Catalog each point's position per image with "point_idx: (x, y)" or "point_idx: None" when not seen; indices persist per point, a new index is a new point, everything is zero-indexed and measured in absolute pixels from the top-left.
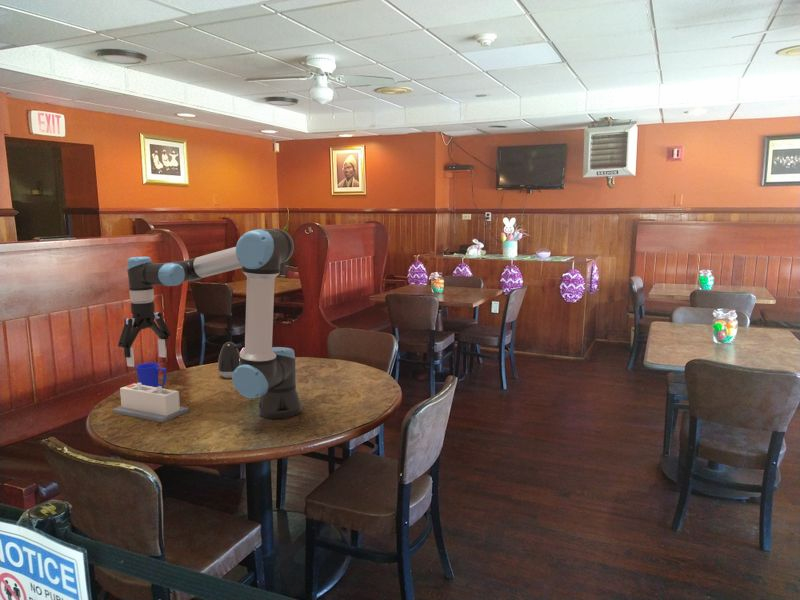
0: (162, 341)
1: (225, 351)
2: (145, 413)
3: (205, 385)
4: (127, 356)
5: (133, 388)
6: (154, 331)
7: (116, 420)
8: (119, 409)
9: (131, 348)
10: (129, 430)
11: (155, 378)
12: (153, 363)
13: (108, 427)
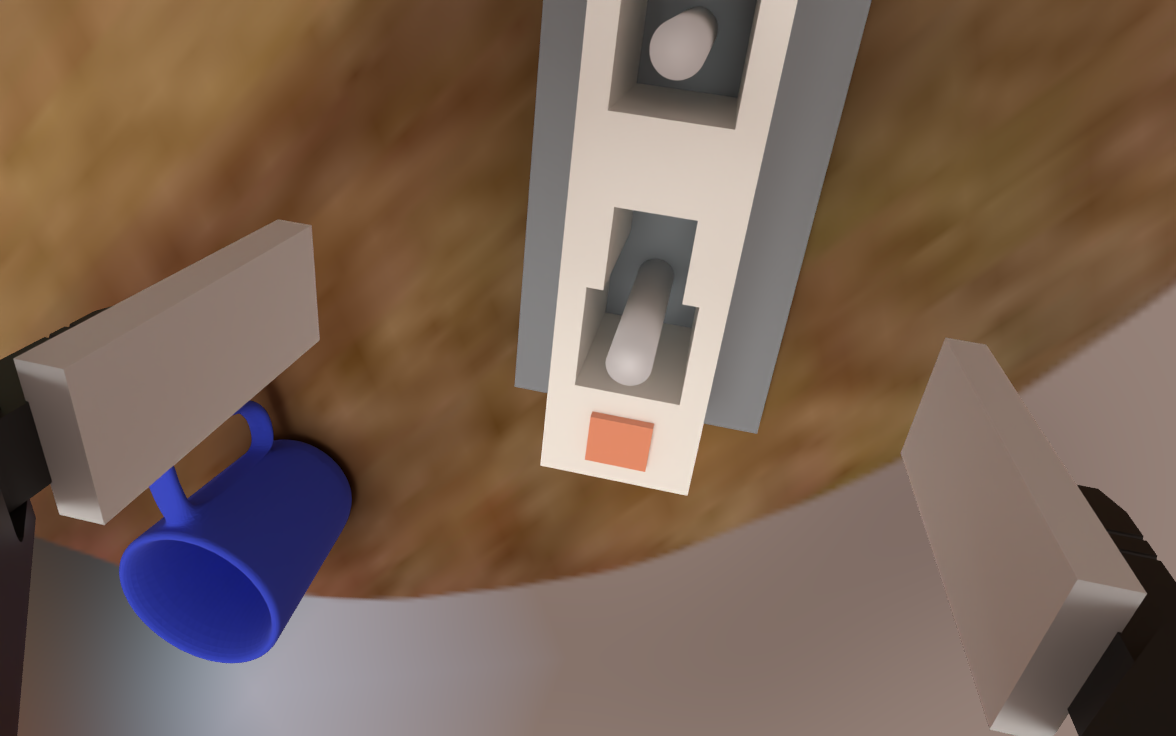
0: (105, 376)
1: None
2: (793, 121)
3: (34, 159)
4: (1122, 513)
5: (644, 394)
6: (7, 712)
7: (908, 290)
8: (750, 386)
9: (1125, 584)
10: (1147, 5)
11: (247, 476)
12: (133, 593)
13: (1073, 242)
